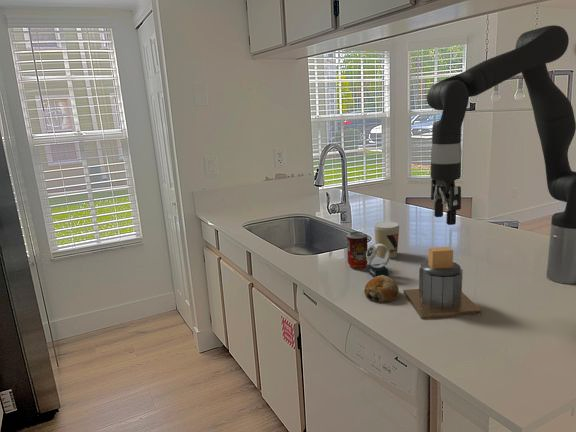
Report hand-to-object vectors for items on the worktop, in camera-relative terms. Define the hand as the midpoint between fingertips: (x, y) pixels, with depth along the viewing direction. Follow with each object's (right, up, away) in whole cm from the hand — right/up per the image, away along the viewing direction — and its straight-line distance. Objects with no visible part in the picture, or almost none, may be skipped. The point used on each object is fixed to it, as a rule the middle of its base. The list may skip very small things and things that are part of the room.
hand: (444, 220), depth 115 cm
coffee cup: (-5, -14, +47) cm, 49 cm away
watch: (-12, -19, +27) cm, 36 cm away
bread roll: (-14, -23, +12) cm, 30 cm away
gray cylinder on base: (+1, -24, +5) cm, 24 cm away
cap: (0, -15, +3) cm, 15 cm away
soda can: (-17, -17, +37) cm, 44 cm away
